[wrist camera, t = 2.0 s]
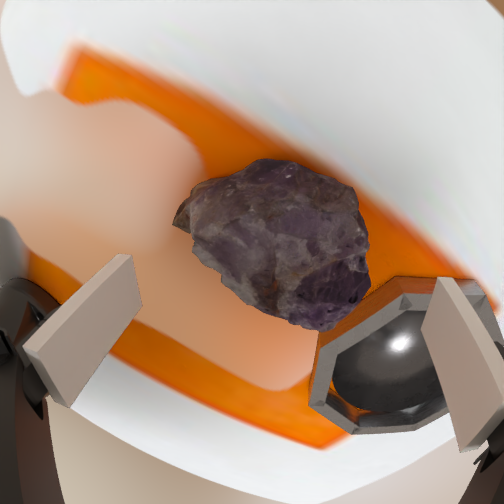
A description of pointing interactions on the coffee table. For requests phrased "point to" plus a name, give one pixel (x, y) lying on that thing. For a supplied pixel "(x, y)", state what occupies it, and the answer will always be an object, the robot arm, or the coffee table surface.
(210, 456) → the coffee table surface
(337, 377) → the collar
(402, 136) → the coffee table surface
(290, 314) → the rock
